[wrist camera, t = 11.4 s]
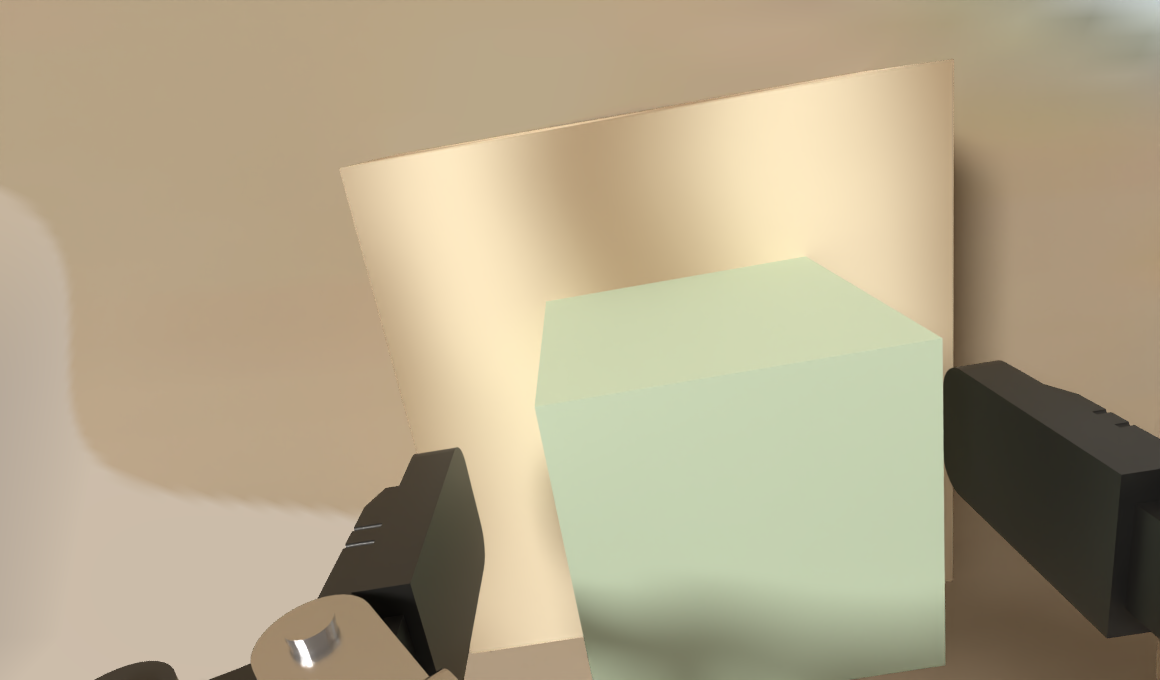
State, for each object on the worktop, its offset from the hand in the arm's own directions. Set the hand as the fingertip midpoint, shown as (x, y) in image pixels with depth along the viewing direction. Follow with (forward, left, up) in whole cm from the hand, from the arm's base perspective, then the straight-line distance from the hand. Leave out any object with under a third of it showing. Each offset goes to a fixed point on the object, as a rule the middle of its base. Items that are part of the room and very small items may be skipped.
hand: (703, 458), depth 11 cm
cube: (0, 0, -3) cm, 3 cm away
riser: (0, 0, -7) cm, 7 cm away
